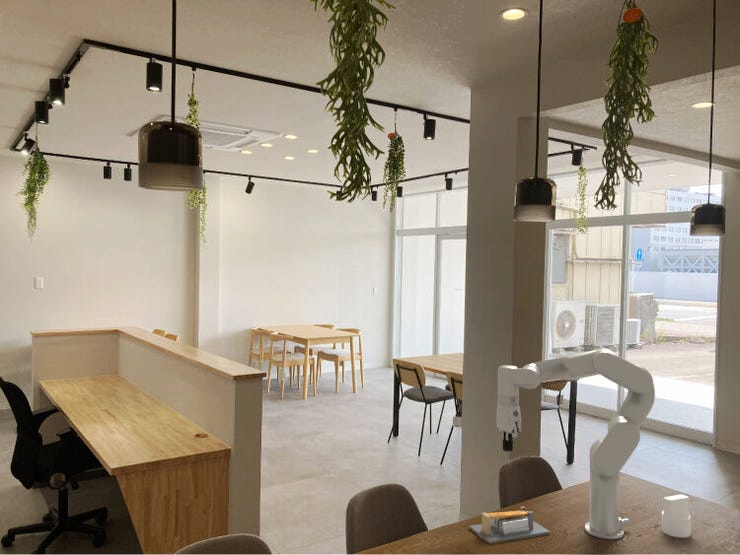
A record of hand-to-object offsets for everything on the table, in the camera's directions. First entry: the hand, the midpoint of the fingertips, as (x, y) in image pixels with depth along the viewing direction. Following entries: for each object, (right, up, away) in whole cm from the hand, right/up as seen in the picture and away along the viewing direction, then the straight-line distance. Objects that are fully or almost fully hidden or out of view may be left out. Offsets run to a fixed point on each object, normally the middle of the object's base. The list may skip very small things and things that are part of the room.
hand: (507, 450), depth 216 cm
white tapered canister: (+56, -26, -9) cm, 63 cm away
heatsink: (-2, -25, -10) cm, 27 cm away
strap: (-2, -20, -10) cm, 22 cm away
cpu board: (-2, -25, -10) cm, 27 cm away
